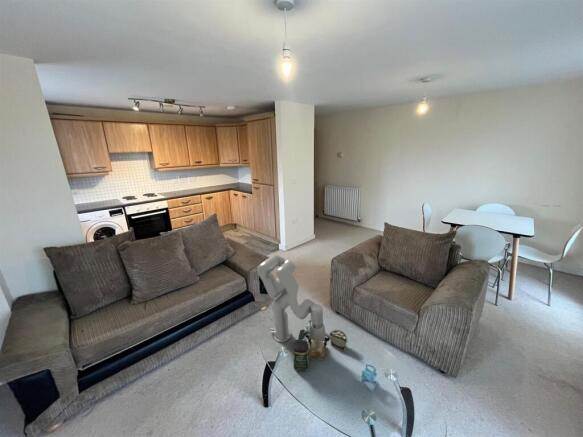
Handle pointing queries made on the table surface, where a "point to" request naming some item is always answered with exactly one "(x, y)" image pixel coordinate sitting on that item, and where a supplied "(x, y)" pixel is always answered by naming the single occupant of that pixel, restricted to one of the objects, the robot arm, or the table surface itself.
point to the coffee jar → (300, 355)
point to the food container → (338, 339)
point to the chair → (369, 376)
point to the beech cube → (317, 346)
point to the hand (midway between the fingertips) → (317, 344)
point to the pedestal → (317, 355)
